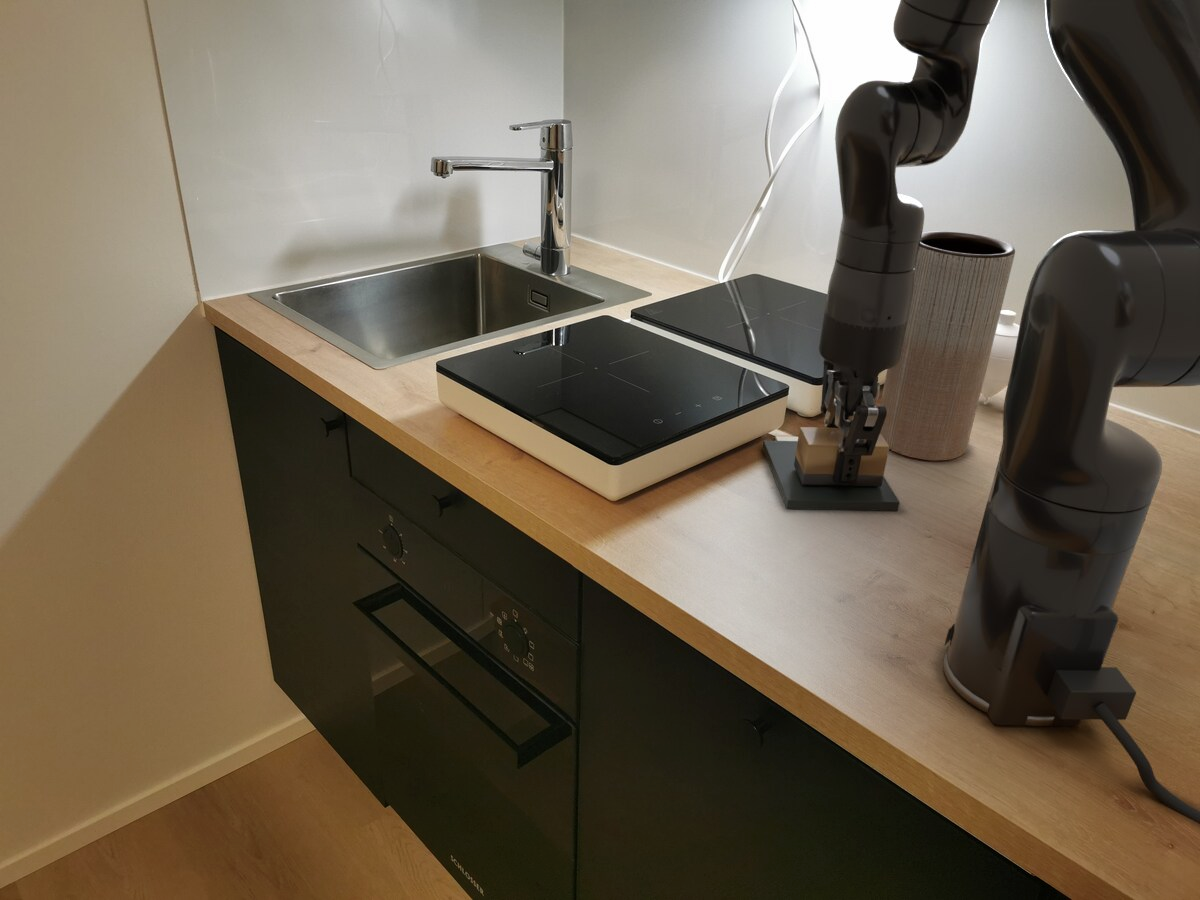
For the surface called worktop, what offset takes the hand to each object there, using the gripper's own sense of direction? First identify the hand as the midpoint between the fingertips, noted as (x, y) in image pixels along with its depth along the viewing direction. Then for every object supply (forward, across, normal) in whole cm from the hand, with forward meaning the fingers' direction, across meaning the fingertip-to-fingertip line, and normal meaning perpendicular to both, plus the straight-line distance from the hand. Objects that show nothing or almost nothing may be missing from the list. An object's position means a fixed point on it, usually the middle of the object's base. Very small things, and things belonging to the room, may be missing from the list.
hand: (837, 471), depth 92 cm
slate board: (+2, +2, 0) cm, 3 cm away
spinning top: (+2, +22, -24) cm, 33 cm away
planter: (+2, +11, -12) cm, 17 cm away
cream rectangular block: (+2, +10, +2) cm, 11 cm away
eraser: (0, 0, 0) cm, 0 cm away
